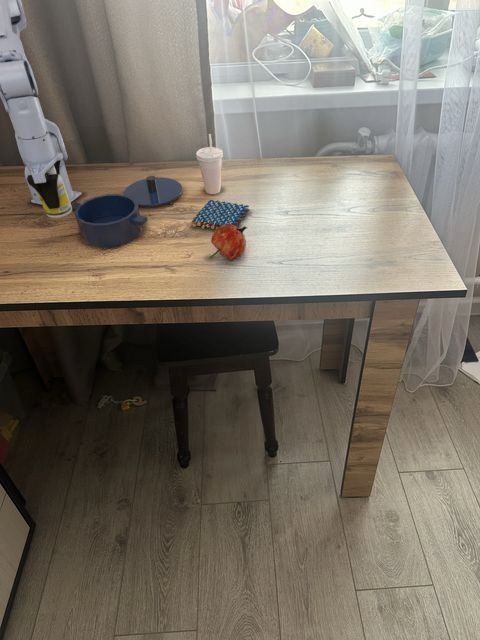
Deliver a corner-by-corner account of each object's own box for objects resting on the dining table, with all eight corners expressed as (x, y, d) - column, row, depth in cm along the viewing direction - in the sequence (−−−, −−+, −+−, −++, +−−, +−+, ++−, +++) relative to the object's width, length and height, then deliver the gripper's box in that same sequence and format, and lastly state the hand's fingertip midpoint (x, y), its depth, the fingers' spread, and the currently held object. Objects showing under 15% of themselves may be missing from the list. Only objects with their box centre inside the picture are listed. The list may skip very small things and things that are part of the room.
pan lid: (164, 213, 119) (161, 196, 116) (113, 203, 123) (108, 186, 120) (193, 186, 128) (191, 169, 125) (144, 177, 132) (141, 161, 129)
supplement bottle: (48, 206, 107) (33, 161, 100) (74, 204, 107) (60, 160, 100) (43, 219, 103) (26, 173, 96) (70, 218, 104) (55, 172, 97)
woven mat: (209, 205, 121) (208, 197, 120) (250, 211, 118) (250, 203, 117) (190, 227, 114) (189, 219, 113) (234, 234, 111) (233, 226, 110)
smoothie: (222, 197, 124) (217, 140, 114) (197, 195, 125) (190, 138, 115) (228, 185, 128) (224, 129, 118) (204, 183, 129) (198, 127, 119)
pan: (131, 255, 107) (125, 232, 103) (59, 238, 112) (51, 216, 108) (163, 223, 115) (159, 201, 112) (95, 209, 121) (89, 188, 117)
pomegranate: (219, 277, 104) (257, 250, 100) (195, 252, 100) (232, 222, 96) (222, 260, 110) (258, 234, 106) (199, 235, 106) (235, 207, 102)
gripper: (52, 146, 89) (73, 215, 99) (57, 117, 100) (77, 182, 109) (10, 151, 88) (36, 220, 98) (20, 121, 99) (43, 186, 108)
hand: (55, 200), depth 103 cm, fingers closed on supplement bottle, 5 cm apart
